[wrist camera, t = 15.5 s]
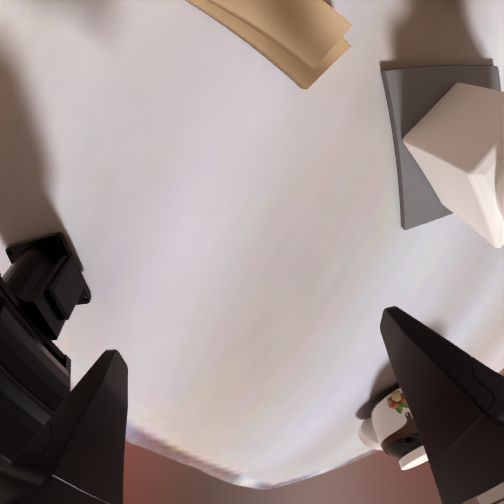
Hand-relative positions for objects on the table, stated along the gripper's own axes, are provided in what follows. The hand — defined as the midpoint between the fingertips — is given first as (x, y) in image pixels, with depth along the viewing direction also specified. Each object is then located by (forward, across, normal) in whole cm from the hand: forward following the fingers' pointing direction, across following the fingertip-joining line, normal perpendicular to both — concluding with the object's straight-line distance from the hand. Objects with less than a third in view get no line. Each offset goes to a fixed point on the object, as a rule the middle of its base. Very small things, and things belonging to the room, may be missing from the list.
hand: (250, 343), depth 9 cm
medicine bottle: (+12, -16, -3) cm, 20 cm away
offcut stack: (+12, -2, -13) cm, 18 cm away
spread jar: (+12, -18, +34) cm, 40 cm away
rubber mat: (+12, -18, -3) cm, 21 cm away
